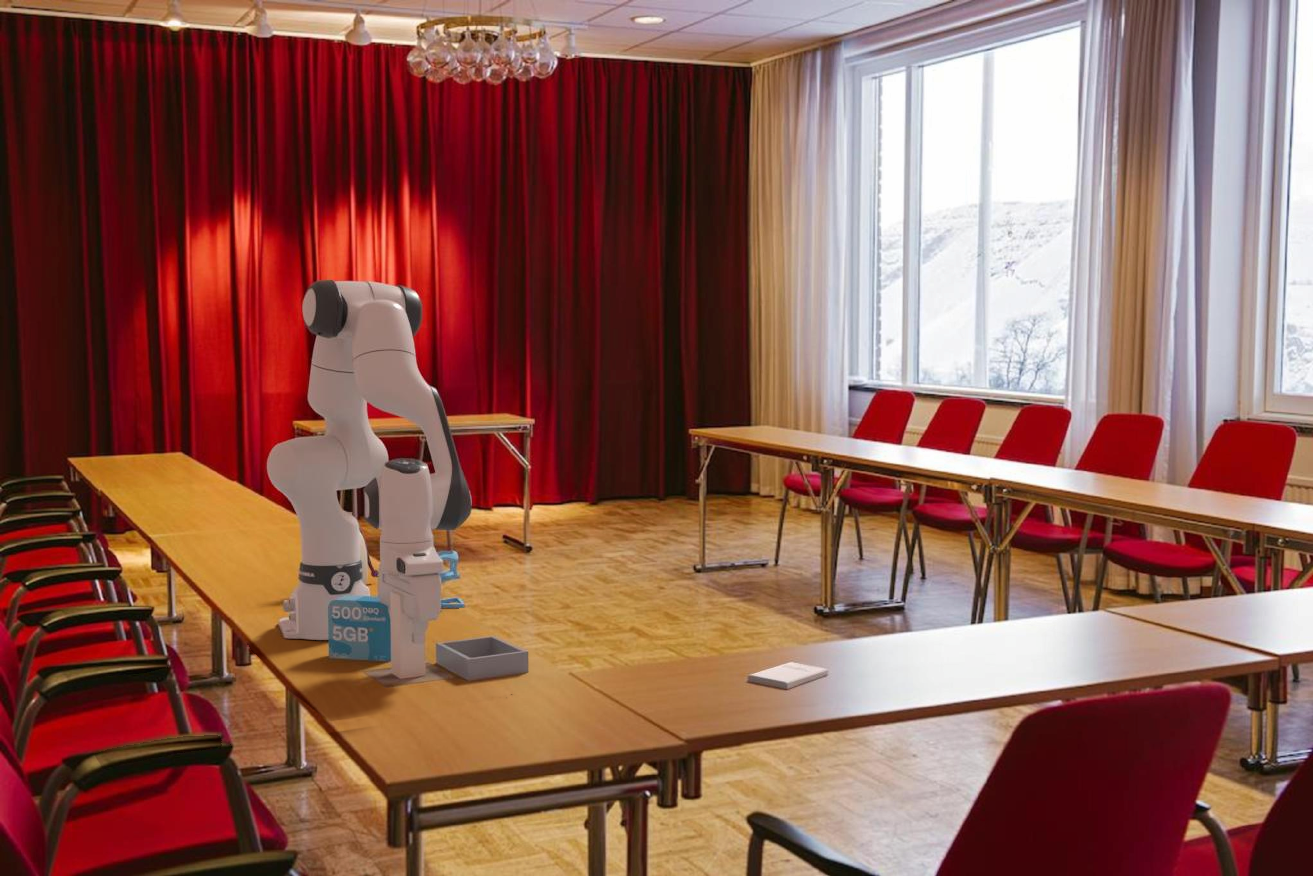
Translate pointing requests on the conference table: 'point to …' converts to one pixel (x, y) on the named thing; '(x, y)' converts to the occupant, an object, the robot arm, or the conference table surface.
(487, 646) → the bin
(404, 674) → the strut
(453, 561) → the light blue frame stand
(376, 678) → the stud plate
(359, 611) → the data package
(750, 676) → the external hard drive
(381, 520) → the robot arm
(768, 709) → the conference table surface
